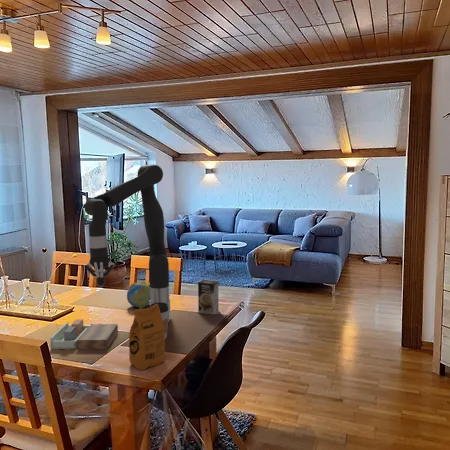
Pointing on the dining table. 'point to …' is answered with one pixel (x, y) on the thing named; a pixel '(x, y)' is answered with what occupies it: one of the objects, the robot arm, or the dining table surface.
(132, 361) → the coffee package
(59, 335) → the tray
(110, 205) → the robot arm
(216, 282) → the coffee box
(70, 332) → the slate tile
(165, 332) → the coffee cup
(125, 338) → the dining table surface
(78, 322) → the terracotta tile
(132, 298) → the blue green round ball
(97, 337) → the grey brown flat block
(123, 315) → the dining table surface
